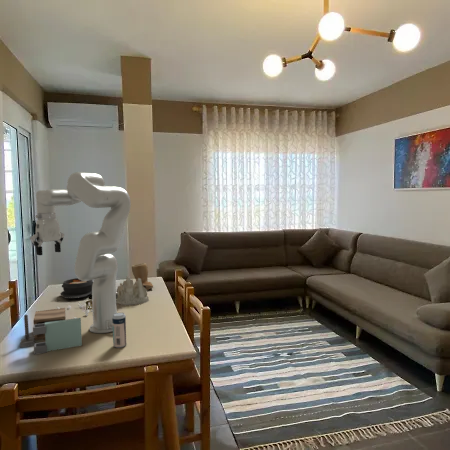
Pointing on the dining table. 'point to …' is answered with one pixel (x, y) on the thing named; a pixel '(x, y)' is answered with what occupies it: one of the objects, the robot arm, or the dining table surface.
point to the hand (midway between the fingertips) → (48, 253)
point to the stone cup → (142, 275)
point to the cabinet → (39, 319)
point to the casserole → (76, 288)
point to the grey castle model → (131, 292)
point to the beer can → (119, 330)
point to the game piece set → (80, 307)
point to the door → (58, 335)
